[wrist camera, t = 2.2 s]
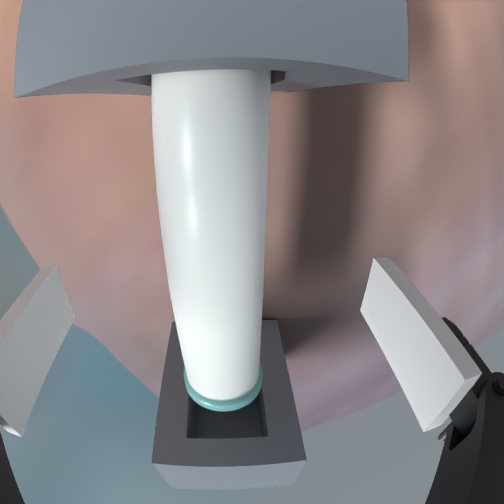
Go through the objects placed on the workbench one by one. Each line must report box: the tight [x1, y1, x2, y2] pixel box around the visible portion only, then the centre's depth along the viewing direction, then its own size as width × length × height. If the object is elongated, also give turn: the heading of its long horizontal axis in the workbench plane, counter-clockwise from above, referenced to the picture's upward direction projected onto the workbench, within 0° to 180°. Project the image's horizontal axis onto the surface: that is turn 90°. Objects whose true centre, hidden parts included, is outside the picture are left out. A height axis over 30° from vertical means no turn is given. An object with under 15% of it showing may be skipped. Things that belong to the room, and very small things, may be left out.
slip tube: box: [152, 69, 271, 412], centre depth 10 cm, size 25×4×4 cm, turn 179°
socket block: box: [152, 320, 307, 489], centre depth 20 cm, size 6×9×13 cm, turn 89°
